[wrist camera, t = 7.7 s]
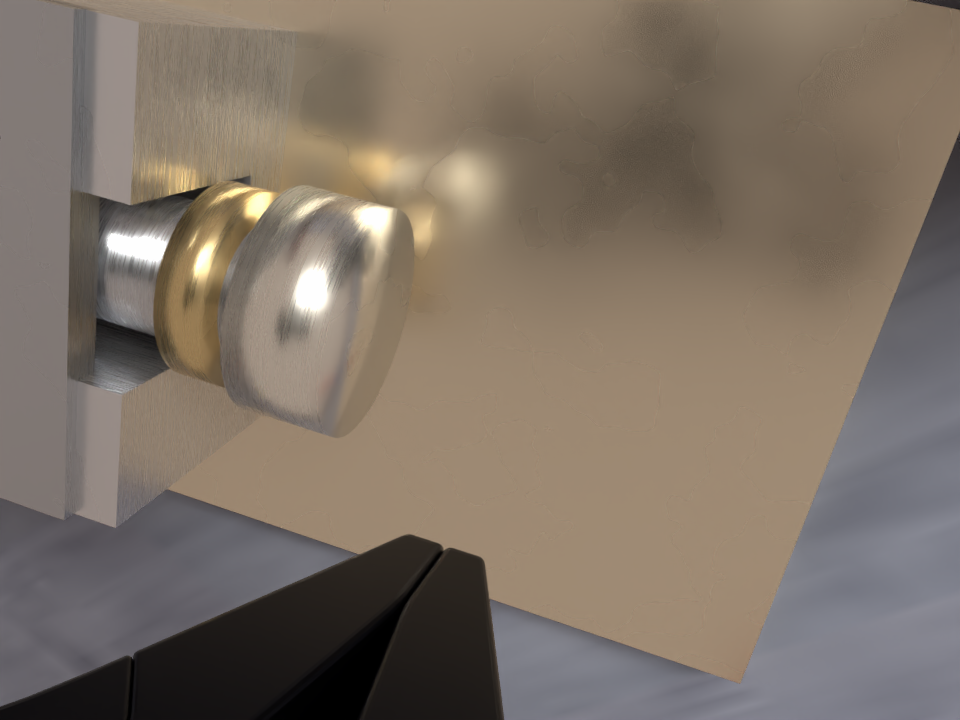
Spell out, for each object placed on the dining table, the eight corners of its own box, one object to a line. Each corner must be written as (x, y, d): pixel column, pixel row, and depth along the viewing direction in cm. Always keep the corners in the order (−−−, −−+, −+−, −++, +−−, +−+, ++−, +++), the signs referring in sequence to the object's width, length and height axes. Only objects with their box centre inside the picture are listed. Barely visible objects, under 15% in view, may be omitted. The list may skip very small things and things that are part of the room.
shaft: (428, 193, 19) (338, 233, 15) (393, 389, 21) (304, 478, 16) (-102, 56, 21) (-316, 56, 17) (-92, 243, 23) (-283, 285, 19)
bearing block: (989, 20, 17) (1151, -3, 10) (739, 658, 23) (744, 895, 16) (-77, -188, 21) (-428, -296, 15) (-54, 393, 27) (-298, 498, 21)
